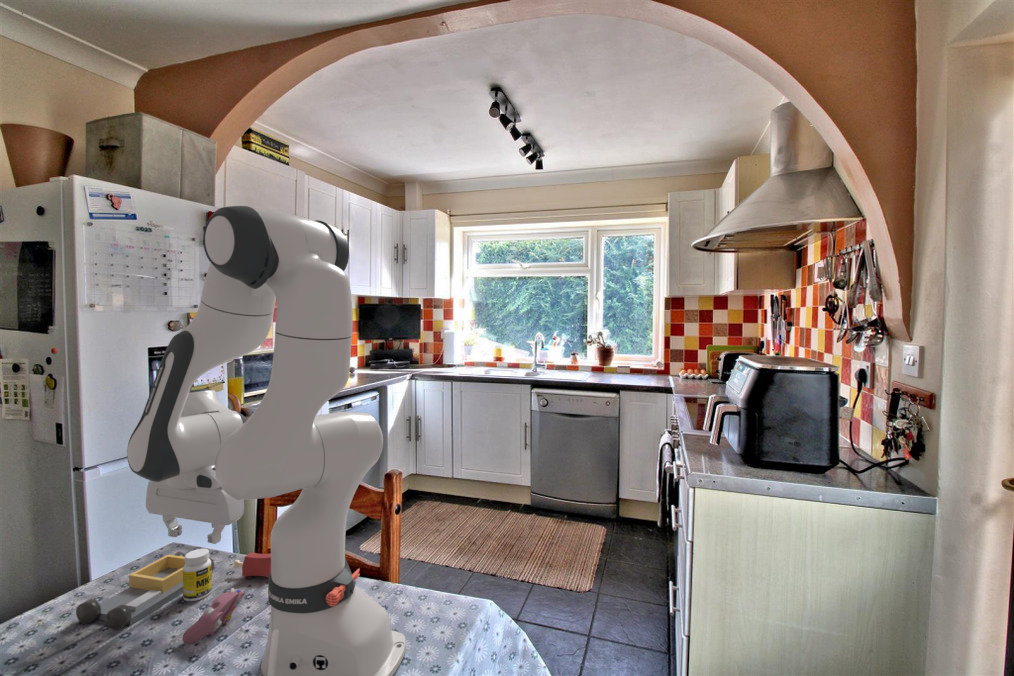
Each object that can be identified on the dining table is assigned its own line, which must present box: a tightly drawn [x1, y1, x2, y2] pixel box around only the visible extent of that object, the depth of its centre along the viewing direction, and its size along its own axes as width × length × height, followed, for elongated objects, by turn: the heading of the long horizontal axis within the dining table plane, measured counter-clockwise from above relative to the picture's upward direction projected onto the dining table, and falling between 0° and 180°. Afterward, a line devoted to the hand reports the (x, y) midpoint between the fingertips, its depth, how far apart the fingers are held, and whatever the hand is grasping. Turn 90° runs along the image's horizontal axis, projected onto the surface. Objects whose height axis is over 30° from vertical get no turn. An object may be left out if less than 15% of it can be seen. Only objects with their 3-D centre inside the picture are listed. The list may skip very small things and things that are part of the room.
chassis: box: [75, 551, 215, 631], centre depth 93 cm, size 11×19×4 cm, turn 167°
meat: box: [233, 551, 271, 578], centre depth 100 cm, size 12×5×5 cm, turn 87°
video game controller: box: [182, 587, 246, 645], centre depth 84 cm, size 10×5×7 cm, turn 177°
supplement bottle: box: [182, 548, 213, 602], centre depth 93 cm, size 5×5×8 cm
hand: (194, 539), depth 93 cm, fingers open, 8 cm apart
